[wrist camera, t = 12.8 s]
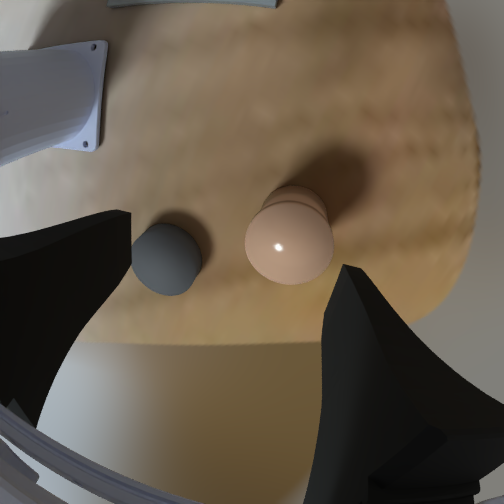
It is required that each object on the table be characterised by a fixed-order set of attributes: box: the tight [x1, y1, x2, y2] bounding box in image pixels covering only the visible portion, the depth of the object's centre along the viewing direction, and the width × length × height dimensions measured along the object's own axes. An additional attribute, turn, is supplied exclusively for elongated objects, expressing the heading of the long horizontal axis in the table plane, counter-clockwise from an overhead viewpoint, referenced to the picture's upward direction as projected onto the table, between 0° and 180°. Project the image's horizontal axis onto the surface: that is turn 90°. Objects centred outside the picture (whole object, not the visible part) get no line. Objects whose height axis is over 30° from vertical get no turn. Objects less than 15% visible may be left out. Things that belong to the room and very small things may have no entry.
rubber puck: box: [131, 224, 202, 296], centre depth 22 cm, size 5×5×2 cm
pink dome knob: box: [245, 185, 334, 284], centre depth 18 cm, size 5×5×4 cm
